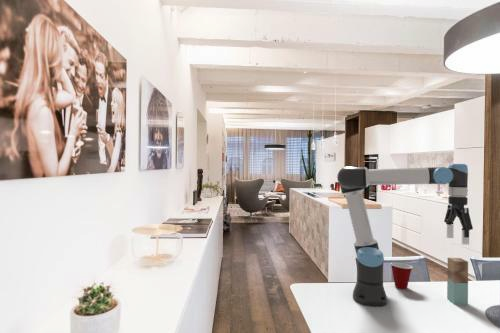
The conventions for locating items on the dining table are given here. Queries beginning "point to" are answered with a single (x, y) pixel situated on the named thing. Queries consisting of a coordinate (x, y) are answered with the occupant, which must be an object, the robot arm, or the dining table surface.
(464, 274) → the walnut block
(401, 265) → the plastic cup
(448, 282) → the teal block
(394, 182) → the robot arm
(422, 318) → the dining table surface
